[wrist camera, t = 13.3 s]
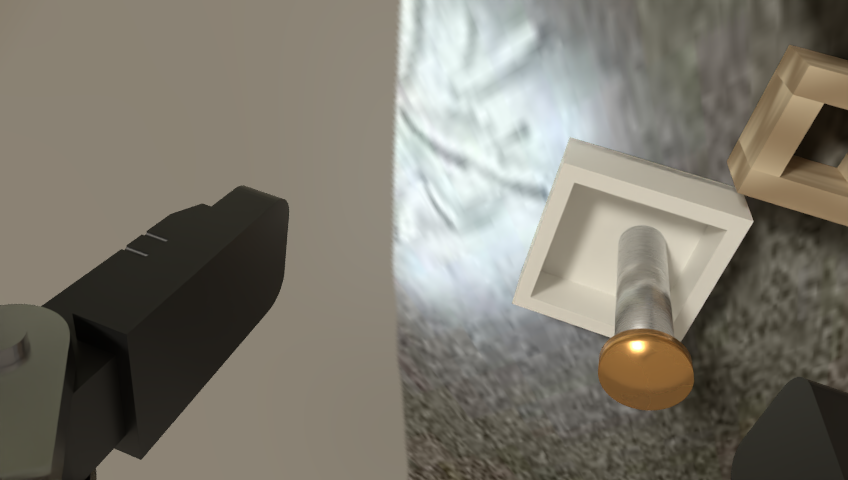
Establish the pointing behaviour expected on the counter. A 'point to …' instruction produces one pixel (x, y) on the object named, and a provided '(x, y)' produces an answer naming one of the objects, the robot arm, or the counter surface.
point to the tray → (604, 224)
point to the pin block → (794, 138)
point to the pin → (644, 329)
